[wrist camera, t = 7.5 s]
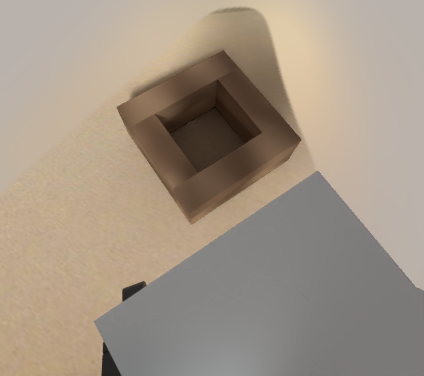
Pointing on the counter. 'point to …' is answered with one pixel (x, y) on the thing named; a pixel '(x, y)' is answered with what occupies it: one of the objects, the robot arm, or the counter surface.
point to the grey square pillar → (276, 301)
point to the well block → (195, 106)
